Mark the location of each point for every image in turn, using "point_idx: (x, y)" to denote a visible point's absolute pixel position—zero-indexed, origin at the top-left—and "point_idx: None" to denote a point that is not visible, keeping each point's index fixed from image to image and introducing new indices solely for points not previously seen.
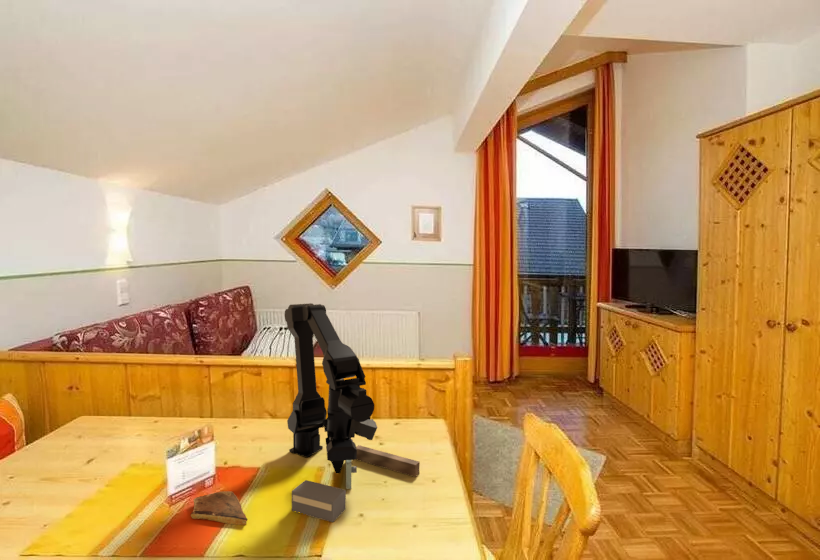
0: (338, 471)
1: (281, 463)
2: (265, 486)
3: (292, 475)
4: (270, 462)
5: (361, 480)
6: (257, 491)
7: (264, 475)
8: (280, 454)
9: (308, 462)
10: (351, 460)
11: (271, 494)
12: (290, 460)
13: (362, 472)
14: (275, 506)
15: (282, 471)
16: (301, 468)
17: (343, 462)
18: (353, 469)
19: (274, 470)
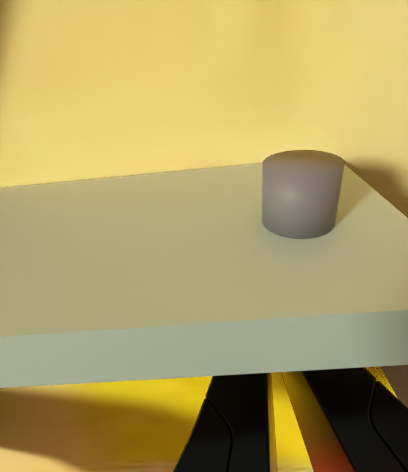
0: None
1: (74, 446)
2: None
3: (165, 413)
4: (76, 466)
5: (208, 77)
6: (279, 462)
7: (172, 464)
8: (3, 456)
9: (32, 386)
10: (398, 311)
11: None
12: (39, 431)
13: (61, 78)
14: None
15: (136, 437)
16: (98, 398)
17: (366, 370)
18: (336, 203)
19: (133, 452)
